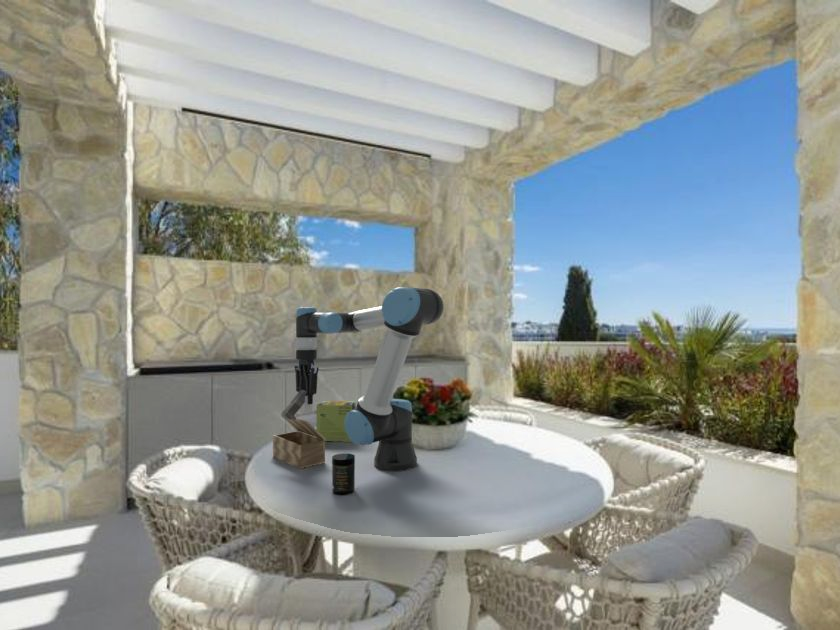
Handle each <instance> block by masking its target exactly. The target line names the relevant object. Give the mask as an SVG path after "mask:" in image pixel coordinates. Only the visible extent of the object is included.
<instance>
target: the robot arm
mask: <svg viewBox="0 0 840 630" xmlns="http://www.w3.org/2000/svg"><path fill="white" fill-rule="evenodd" d="M444 307H445V306H444V301H443V299H442V297H441V296H440V294H439V293H438V292H437V291H435V290H433V289H429V288H420V287H419V288H418V287H411V286H401V287H400V286H399V287H395V288H393V289H391V290H390V291H388V293H387V294H385V297H384V299H383V301H382V303H381V305H380V306H376V307H372V308H367V309H365V308H364V309H360V310H357V311H356V310H355V311H350V312H333V311H332V312H330V311H327V312H326V311H325V312H318V310H317V307H313V306H311V307H308V306H307V307H304V306H302V307H298V308H297V309H296V316H295V335H296V336H295V348H296V350H295V359H296V360H298V364H296V365H294V371H295V391H296V392H297V393H298V392H299V391H300V390H305V391H306V394H305V403H304V404H303V405H302V406H301V408H300V409H299V413H303V412H304V414H312V413H313V411H314V410H313V408H314V407H313V406H314V405H313V403H314V402H313V401H314V395H317V392H318V390H317V389H318V375H319V367H316V366H315V360H317V358H318V357H317V356H318V354H317V352H318V350H317V344H318V340H317V337H318V336H317V335H318V334H328V335H332V334H333V335H334V334H343V333H344V334H345V333H353V334H354V333H356V334H357V333H361V332H363V331H367V330H372V329H373V330H374V329H378V328H385V330H386V331H385V333H384V336H383V340H382V343H381V346H380V349H379V353H378V354H377V358H376V361H375V364H374V367H373V369H372V373H371V376H370V379H369V383H368V386H367V388H366V392H365V394H364V395H362V396H360V397H359V398H358V401H357V402H356V409H355V410H351V411H350V412H348V413H347V415H346V417H345V423H344V424H345V430H346V432H347V435H348V437H349V438H350V440H351V441H352V442H351V443H353V444H355V445H356V446H370V445H372V444H373V443H377V442H378V445H377V449H376V453H375V456H374V458H373V465H374V467H375V468H377V469H378V470H381V471H387V472H398V471H400V472H401V470H402V471H407V469H408V470H411V469H414V468H415V467H417V466H418V457H417V455H416V451H415V448H414V444H413V408H412V407H413V406H412V405H413V404H412V402H411V401H409V400H408V399H403V398H402V399H401V398H393V397H394V396H393V395H394V394H395V390H396V387H397V385H398V381H399V378H400V376H401V372H402V370H403V367H404V365H405V363H406V362H405V361H406V359H407V355H408V353H409V350H410V347H411V344H412V342H413V339H414V338H416V337H419V335H420V334H421V333H420V332H421V330H422V328H423V326H425V325H431V324H434V323H436V322H438V320H440V318H441V317H442V315H443V313H444Z"/></svg>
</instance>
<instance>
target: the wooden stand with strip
mask: <svg viewBox="0 0 840 630" xmlns="http://www.w3.org/2000/svg"><path fill="white" fill-rule="evenodd" d="M305 394H306V391H305V390H300V391H299V392H297V394H296V395H295V396H294V397H293V398H292V399H291V401H290V402H289V403H288V404H287V406H286V407H285V409H283V411H282V412H281V414H280V417H282V418H283V419H284V420H285V421H286V422H287V423H289V424H290V426H292V427H293V428H294V429H295V431H299V432H302V433H305V434H308V435H310V436H313V437H317V438H320V439H323V440H326V438H325V437H324V436H323V435H322V434H320V433H319V432H318V431H317V430H316V427H315V426H314V425H312V424H311V423H310V422H309V421H307V420H303V419H299V418H297V417H296V416H295V415H296V414H297V412H298V411H300V408H301V406H302V405H303V404H304V403H305Z"/></svg>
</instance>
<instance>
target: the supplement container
mask: <svg viewBox="0 0 840 630" xmlns="http://www.w3.org/2000/svg"><path fill="white" fill-rule="evenodd" d="M355 462H356V456H355V454H353V453H348V452H345V453H337V454H334V455H333V456H331V465H332V466H331V473H332V475H331V476H332V477H331V481H332V483H331V484H332V485H331V488H332V489H331V490H332V493H333V494H334V495H339V496H345V495H350V494H352V493H353V492H354V491H355V489H356V488H355V487H356V476H355V475H356V474H355V470H356V469H355V468H356V467H355V465H356V463H355Z"/></svg>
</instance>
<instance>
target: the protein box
mask: <svg viewBox="0 0 840 630" xmlns="http://www.w3.org/2000/svg"><path fill="white" fill-rule="evenodd" d="M356 406H357V402H356V400H326V401H325V400H324V401H320V402H319V403H318V404H316V424H315V425H316V427H315V429H316V430H317V431H318V432H319V433H320V434H322V435H323V436H324V437H325V438H326V440H325V441H344V442H343V443H353V442H352V441H351V440H350V438H349V437H348V435H347V432H346V430H345V424H344V423H345V417H346V415H347V413H348V412H350V411H351V410H355V409H356ZM316 438H317V437H316ZM319 439H320V438H319ZM322 440H323V439H322Z"/></svg>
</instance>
